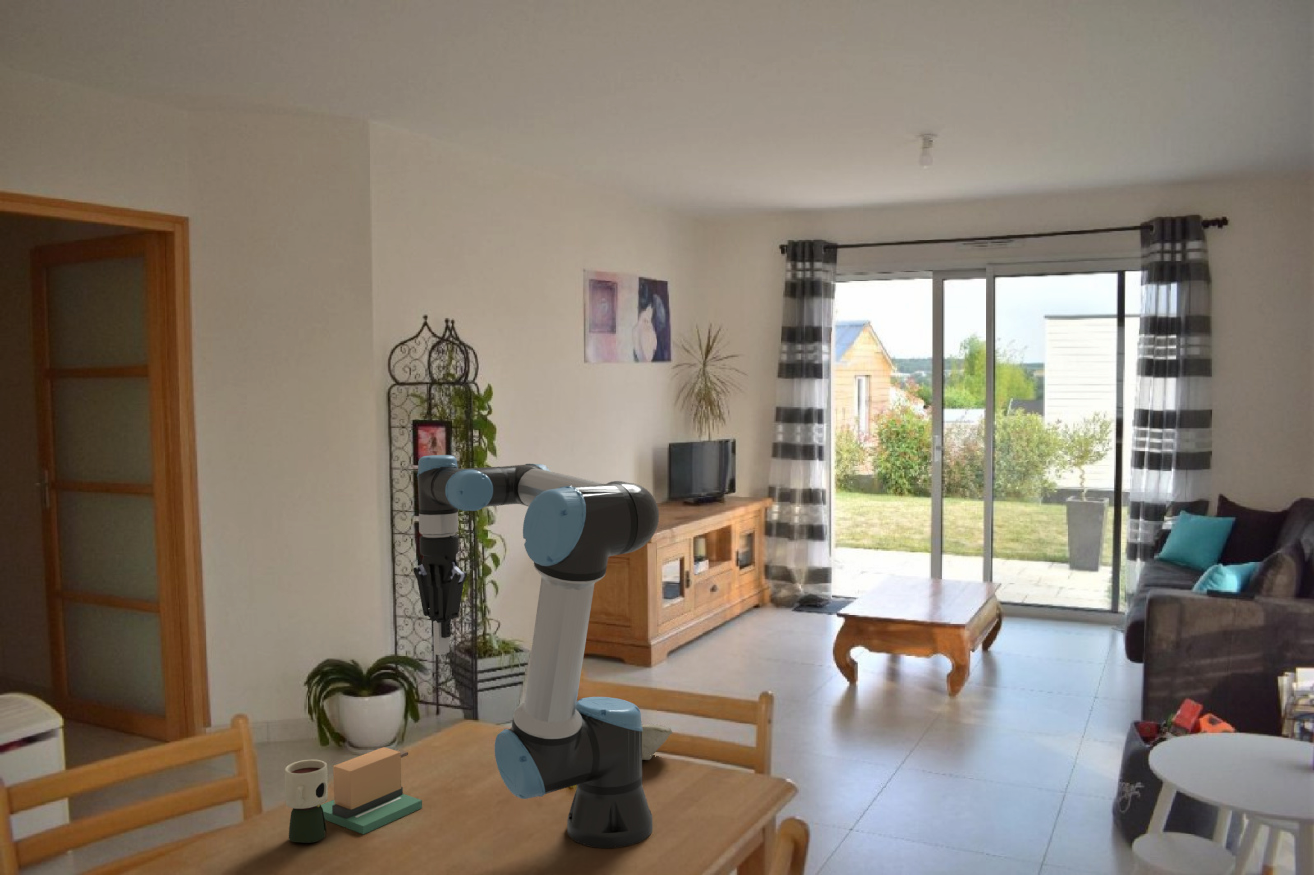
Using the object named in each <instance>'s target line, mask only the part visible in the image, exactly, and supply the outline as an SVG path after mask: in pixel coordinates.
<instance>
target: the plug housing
mask: <svg viewBox="0 0 1314 875" xmlns="http://www.w3.org/2000/svg"><path fill="white" fill-rule="evenodd" d="M408 755H409V752H408V751H405V750H402V749H400V750H395V749H391V748H388V747H384V746H383V747H379V748H378V749H375V750H373V751H369V752H366V753H365V754H361V755H359V756H355V757H353V758H350V759H347V760H346V761H343V762H340V763H337V764H335V765H333V766H332V767H333V768H332V770H333V772H332V773H333V800H334V804H337V805H340V806H343V807H346V808H348V809H354V808H356V807H359V806H361V805H363V804H366V803H368V802H370V801H373V800H375V799H377V798H380V797H382V796H385V795H387V794H389V793H392V792H394V791H396V790H399V789H401V787H402V763H401V762H402V761H401V760H402V758H404V757H407V756H408Z"/></svg>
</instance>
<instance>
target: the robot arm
mask: <svg viewBox="0 0 1314 875" xmlns="http://www.w3.org/2000/svg"><path fill="white" fill-rule="evenodd" d="M417 466H418V467H417V469H418V470H417V474H416V477H417V486H418V487H417V490H418V494H417V495H418V532H419V534H421V535H420V537H419V553H420V555H421V556H423V558H422V560H421V564H420V565H419V566H416V567H414V568H413V570H412V571H413V573H414V576H415V578H416V581H417V582H416V583H417V586H418V591H419V597H420V603H421V609H422V613H423V615H424V616H425V617H428V618H429V619H430V621H431V635H432V637H433V655H437V656H441V655H444V654H449V653H450V637H451V635H452V632H451V630H452V628H451V625H452V623H451V622H452V620H453V619H457V618H459V616H460V615H459V614H460V609H461V602H462V597H463V591H464V590H463V589H464V585H465V584H464V583H465V581H466V579H467V577H468V572H467V571H465V570H464V571H462V570H461V569H460V568H459V565H458V560H457V557H456V556H457V554H458V553H459V552H460V543H459V542H460V540H459V535H458V534H456V533H458V531H459V510H461V511H464V512H468V511H469V512H470V511H471V512H475V511H476V512H477V511H480V510H482V509H483V508H488V507H498V506H499V507H500V506H505V505H521V506H526V507H528V508H527V510H526V511H525V512H526V513H525V516H524V519H523V524H522V525H523V526H522V537H523V539H524V540H525V541H524V549H525V552H526V553H527V555H528V557H529V559H530V560H531V561H533V567H534V569H535V570H536V571H537V572H538V574H539V576H541V578H540V587H539V593H538V601H537V608H536V616H535V624H534V630H533V631H534V632H533V635H532V636H533V637H532V643H531V644H532V645H531V651H530V657H529V658H530V659H529V665H528V673H527V680H526V687H525V688H526V689H525V695H524V701H523V702H522V703H521V704H519V705H518V706H516V707H515V709H514V711H513V715H512V721H511V727H510V728H508V729H507V728H504V729H503V730H501V731H500V732H499V733H498V734H497V735H496V737H495V740H494V756H495V757H494V758H495V763H496V766H497V769H498V772H499V775H500V777H501V779H502V780H503V783H504V785H505V786H506V788H507V789H508V790H509V792H510V793H511V794H512V795H514V796H515V797H516V798H519V799H523V800H528V799H533V798H537V797H543V796H545V795H547V794H550V793H553V792H557V791H560V790H563V789H567V788H570V787H573V786H576V788H575V792H574V796H573V799H572V802H571V805H570V809H569V813H568V816H567V823H566V825H567V835H568V836H569V838H570V839H571V840H573V841H575V842H576V843H578V844H581V845H584V846H587V847H592V848H598V849H600V848H601V849H614V848H623V847H628V846H632V845H635V844H638V843H640V842H642V841H644V840H645V839H647V838H648V837H649V836H650V835H651V834H652V833H653V813H652V812H651V809H650V807H649V803H648V800H647V797H646V796H647V795H646V794H645V790H644V787H643V760H642V731H643V728H642V724H643V723H642V722H643V721H642V712H641V710H640V707H638V705H636V704H635V703H633V702H630V701H629V700H628V701H627V700H624V699H622V698H621V699H620V698H616V697H608V696H589V697H582V698H580V699H579V700H578V695H579V687H580V682H581V675H582V668H583V663H584V656H585V655H584V654H585V648H586V643H587V635H588V629H589V623H590V615H591V609H592V605H593V604H592V602H593V595H594V590H595V583H598V582H599V581H601V580H602V579H603V578H604V577H605V576H606V573H607V568H608V562H609V558H610V557H613V556H619V555H623V554H625V555H626V554H629V553H633V552H636V551H637V550H640V549H641V548H643V547H644V546H645V545H647V544H648V543H649V542H650V541H651V539H652V538H653V537H654V536H655V533H656V532H657V529H658V526H659V522H660V521H659V520H660V511H659V507H658V506H659V505H658V503H657V501H656V499H655V498H654V495H652V493H651V492H650V491H649V490H648V489H647V488H645V487H644V486H642V485H641V484H637V483H633V482H627V481H621V480H612V481H609V482H607V483H604V482H600V481H594V480H590V479H586V478H582V477H577V476H572V475H568V474H564V473H559V472H555V471H551V470H550V469H549V468H548V466H547V465H545V464H541V463H525V464H516V465H505V466H488V467H473V468H471V467H470V468H459V466H458V460H457V458H456V456H454V455H451V454H435V455H432V454H431V455H424V456H421V457H420V458H419V459H418V465H417Z"/></svg>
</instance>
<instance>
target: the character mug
mask: <svg viewBox="0 0 1314 875" xmlns="http://www.w3.org/2000/svg"><path fill="white" fill-rule="evenodd" d="M328 781H329V780H328V763H327V762H326V761H324V760H320V759H304V760H303V759H302V760H299V761H294V762H292V763H290V764H288V765H286V767H284V796H285V797H284V798H285V800H284V802H285V805H286V806H287V807H289V808H291V809H292V810H291V811H290V819H289V827H288V830H289V831H288V839H289V841H290V842H294V843H304V844H308V843H309V844H310V843H315V842H320V840H323V839H324V838H325V837H326V834H328V832H327V825H326V820H325V818H324V812H323V808H322V806H321V805H322V804H324V803H327V802H328V796H329V786H328Z"/></svg>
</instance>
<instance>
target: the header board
mask: <svg viewBox="0 0 1314 875" xmlns="http://www.w3.org/2000/svg"><path fill="white" fill-rule="evenodd" d="M403 788H404V787H403V786H401V789H399V790H396V791H394V792H392V793H389V794H387V795H385V796H382V797H380V798H377V799H375V800H373V801H370V802H368V803H366V804H363V805H361V806H359V807H356V808H354V809H348V808H346V807H343V806H340V805H337V804H334V799H333V800H329V801H326V802H324V803H322V804H321V806H322V808H323V812H324V818H325V821H327V822H330V823H332V824H335V825H338V826H340V827H343V828H345V827H346V829H348V830H350V831H353V832H356V833H359V834H361V835H365V834H368V833H370V832H372V831H374V830H376V829H378V828H381V827H384V826H385V825H387V824H389V823H392V822H395V821H396V820H398V819H400V818H404V817H406V816H407V815H410V814H412V813H414V812H417V811H418V810H419V811H420V810H421V809H423V800H422V799H420V798H418V797H413V796H411V795H408V794H405V793H404V791H403Z"/></svg>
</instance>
